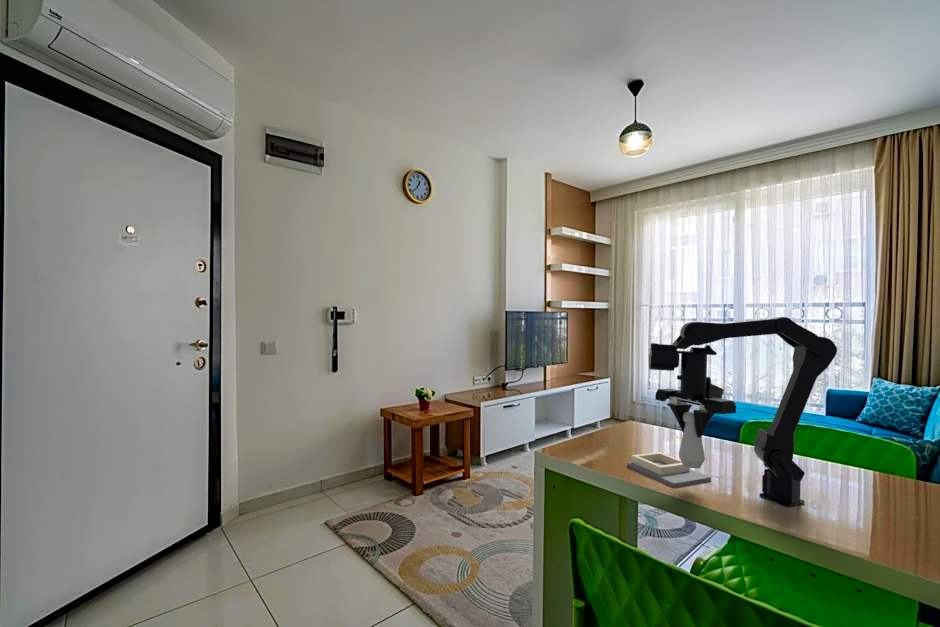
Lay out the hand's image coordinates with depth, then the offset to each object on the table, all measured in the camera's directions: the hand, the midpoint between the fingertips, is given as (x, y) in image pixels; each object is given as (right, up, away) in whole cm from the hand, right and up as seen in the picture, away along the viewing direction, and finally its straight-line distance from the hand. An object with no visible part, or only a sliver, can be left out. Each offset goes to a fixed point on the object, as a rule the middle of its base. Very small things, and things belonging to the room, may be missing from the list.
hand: (692, 435), depth 106 cm
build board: (-2, -13, +10) cm, 16 cm away
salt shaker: (0, -8, 0) cm, 8 cm away
